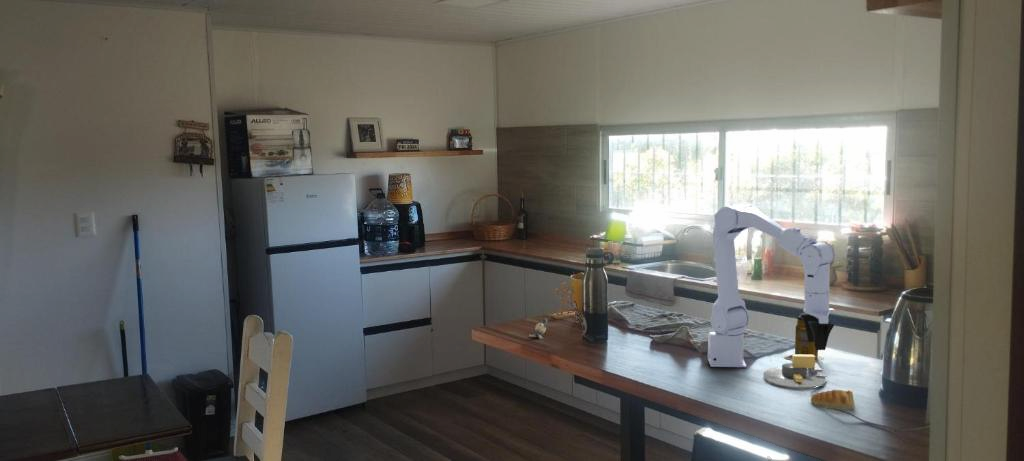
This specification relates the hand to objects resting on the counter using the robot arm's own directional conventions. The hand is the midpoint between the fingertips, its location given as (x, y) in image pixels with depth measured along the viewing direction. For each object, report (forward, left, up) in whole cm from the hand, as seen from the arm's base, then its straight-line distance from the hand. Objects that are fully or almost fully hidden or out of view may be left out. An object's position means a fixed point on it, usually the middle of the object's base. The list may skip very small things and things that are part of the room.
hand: (816, 345), depth 194 cm
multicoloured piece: (-3, +4, -9) cm, 11 cm away
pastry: (+2, -13, -11) cm, 17 cm away
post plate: (-4, +6, -11) cm, 13 cm away
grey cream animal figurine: (-74, +45, -11) cm, 87 cm away
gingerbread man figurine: (-68, +72, -11) cm, 99 cm away
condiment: (+3, +25, -11) cm, 27 cm away
